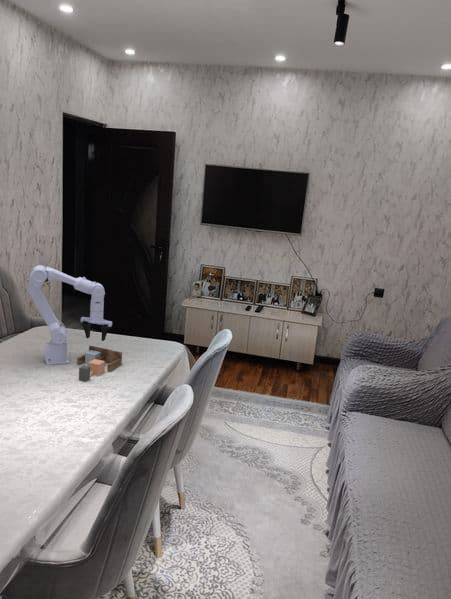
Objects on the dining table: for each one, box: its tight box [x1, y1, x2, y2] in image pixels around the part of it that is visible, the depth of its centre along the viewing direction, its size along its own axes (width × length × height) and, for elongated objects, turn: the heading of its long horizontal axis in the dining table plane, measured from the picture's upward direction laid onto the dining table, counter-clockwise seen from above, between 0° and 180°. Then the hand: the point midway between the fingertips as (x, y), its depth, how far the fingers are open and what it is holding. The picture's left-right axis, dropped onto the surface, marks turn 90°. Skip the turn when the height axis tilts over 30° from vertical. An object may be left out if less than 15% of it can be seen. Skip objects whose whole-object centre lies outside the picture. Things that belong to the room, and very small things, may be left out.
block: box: [84, 350, 101, 365], centre depth 210 cm, size 5×5×5 cm
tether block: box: [78, 359, 106, 382], centre depth 195 cm, size 5×13×6 cm, turn 163°
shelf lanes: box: [76, 345, 123, 373], centre depth 209 cm, size 17×10×6 cm, turn 73°
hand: (95, 339), depth 212 cm, fingers open, 7 cm apart
